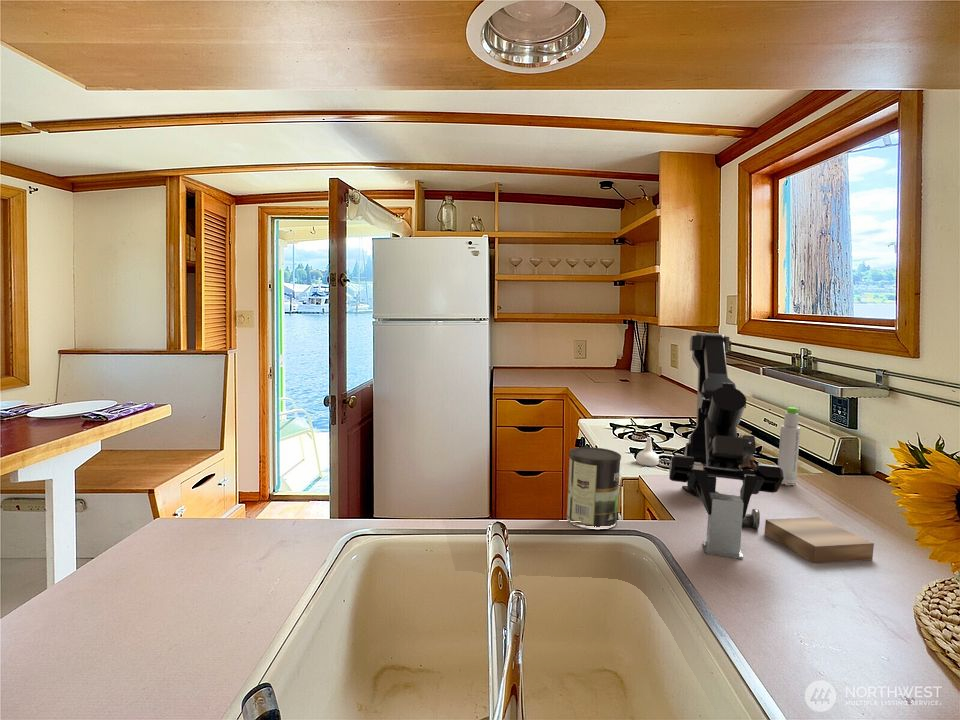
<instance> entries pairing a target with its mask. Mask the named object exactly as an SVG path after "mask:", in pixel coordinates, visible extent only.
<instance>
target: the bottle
mask: <svg viewBox="0 0 960 720" xmlns="http://www.w3.org/2000/svg"><path fill="white" fill-rule="evenodd" d="M799 411H800V409H799V408H797V407H793V406H792V407H791V406H790V407H789V406H788V407H787V410H786V412H785V413H784V418H783V419H784V420H783V424H782V425H780V432H779V433H780V434H779V444H778V445H779V447H778V458H777V465H778V466H779V467H780V468H781V469H782V470H783V476H784V479H783V481H782V483H781V485H783V484H785V486H790V485H793V486H796V485H797V473H798V462H799V448H800V440H801V439H800V438H801V427H800V426H799V413H798V412H799ZM795 484H796V485H795Z"/></svg>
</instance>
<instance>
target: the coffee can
mask: <svg viewBox="0 0 960 720" xmlns="http://www.w3.org/2000/svg"><path fill="white" fill-rule="evenodd" d="M568 455H569V461H568V462H569V463H568V464H569V465H568V489H567V507H566V510H567V511H566V520H567V522H569V521H581V522H569V523H570V524H571V523H572V524H571V525H573V524H575V525H585V526H594V527H595V526H596V527H600V526H611V525H614V524H616V522H617V523H618V507H619V506H618V505H619V502H618V501H619V488H620V487H619V486H620V469H621V468H620V467H621V460H622V455H621V454H620V453H619V452H617V451H615V450H611V449H607V448H604V447H603V448H601V447H591V446H590V447H589V446H583V447H574V448H571V449H570V450H569V452H568ZM575 525H574V526H575Z"/></svg>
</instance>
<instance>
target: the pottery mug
mask: <svg viewBox="0 0 960 720" xmlns="http://www.w3.org/2000/svg"><path fill="white" fill-rule="evenodd" d="M754 461H756V457H755V455H754V454H752V455H751V454H744V457H743V464H742V465H740V469H744V468H749V467H750V468H749V469H751V468H752V469H751V470H754V471H755V468H756V466H757V464H756V463H755V462H754Z"/></svg>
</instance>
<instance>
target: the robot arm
mask: <svg viewBox="0 0 960 720" xmlns="http://www.w3.org/2000/svg"><path fill="white" fill-rule="evenodd" d="M729 350H730V336H726V335H724V334H723V333H720V332H719V333H718V332H717V333H715V332H695V335H691V336H690V338H689V351H690V352H691V359H692V361H693V363H694V365H695V366H696V367H697V393H696V394H697V396H696V419H695V420H696V421H695V422H696V424H695V428H694V429H693V431H692V432H691V434H690V435H689V436H688V442H686V443H685V448H684V452H683V455H679V454H673V456H671V459H670V464H669V480H670V481H672V482H678V483H679V482H680V483H687V484H686V485H681V488H682V490H685V491H686V492H688V493H690V494H692V495H693V496H694V497H699V499H700V501H701V502H702V505H703V507H704V509H705V511H706V513H707V515H708V514H709V515H711V499H710V493H718V494H721V493H720V492H719V491H717V478H721V479H729V480H739V481H742V485H741V488H740V490H739V491H740V493H739V494H740V495H739V496H740V497H741V499H742V501H743V503H744V505H743V517H742V519H744V518H745V514H747V510H748V507H749V503H750V501H751V496H752V495H759V492H763V493H764V492H765V493H774V494H775V493H777V492H778V490H779V489H780V487H781V485H782V484H781V483H782V481H783V479H784V476H783V470H782V469H781V468H780V467H779V466H778V464H777V465H776V464H766V463H757V464H756V468H755V471H754V470H753V469H744V468H740V465H742V464H743V457H744V454H751V455H752V454H753V455H754V454H755V453H756V450H757V449H756V447H757V446H756V439H755V438H756V437H755V435H752V434H751V435H749V434H748V435H747V434H744V435H742V437H739V436H738V431H737V427H738V426H739V424H740V422H741V420H742V416H743V414H744V410H745V409H746V408H747V397H746V396H745V394H744V393H743V392H742V391H741V390H740V389H737V386H736V383H735V382H734V381H732V380H731V379H730V378H729V375H728V368H727V367H728V366H727V357H726V353H728V352H729Z"/></svg>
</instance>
